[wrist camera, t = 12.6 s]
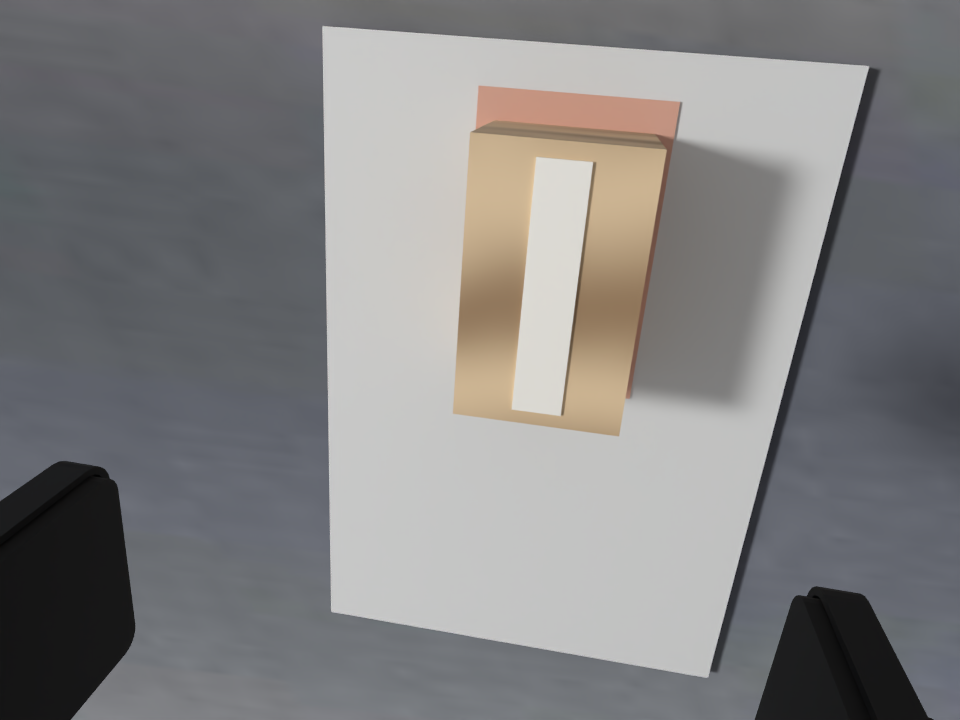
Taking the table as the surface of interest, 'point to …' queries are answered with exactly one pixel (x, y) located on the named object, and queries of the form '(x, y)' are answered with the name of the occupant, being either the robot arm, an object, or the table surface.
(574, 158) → the card box
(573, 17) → the table surface
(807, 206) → the mat
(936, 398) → the table surface
